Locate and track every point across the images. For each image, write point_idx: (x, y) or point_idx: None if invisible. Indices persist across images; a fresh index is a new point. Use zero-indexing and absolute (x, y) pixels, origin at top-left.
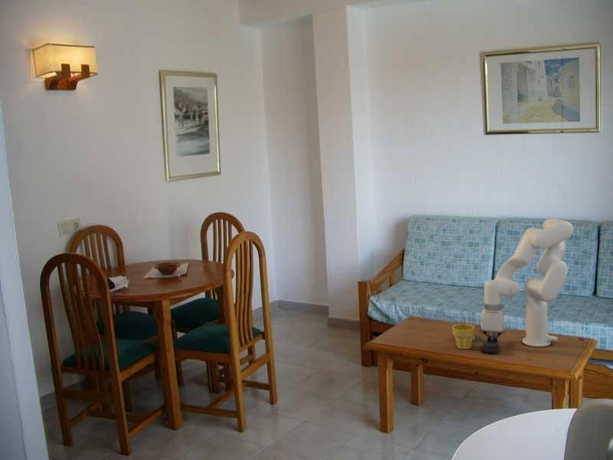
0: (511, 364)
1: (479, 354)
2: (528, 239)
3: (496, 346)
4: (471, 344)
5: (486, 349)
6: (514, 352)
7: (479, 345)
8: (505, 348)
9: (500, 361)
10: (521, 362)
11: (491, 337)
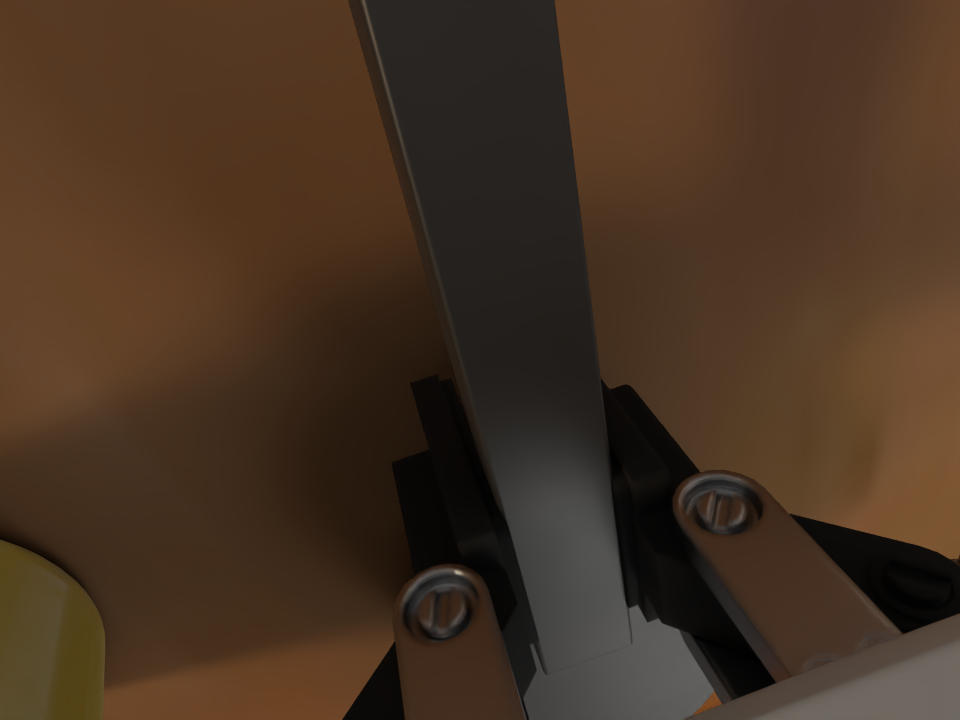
0: None
1: None
2: None
3: (692, 701)
4: (96, 681)
5: None
6: (886, 382)
7: (137, 372)
8: (741, 265)
9: (706, 709)
10: None
11: (548, 577)
